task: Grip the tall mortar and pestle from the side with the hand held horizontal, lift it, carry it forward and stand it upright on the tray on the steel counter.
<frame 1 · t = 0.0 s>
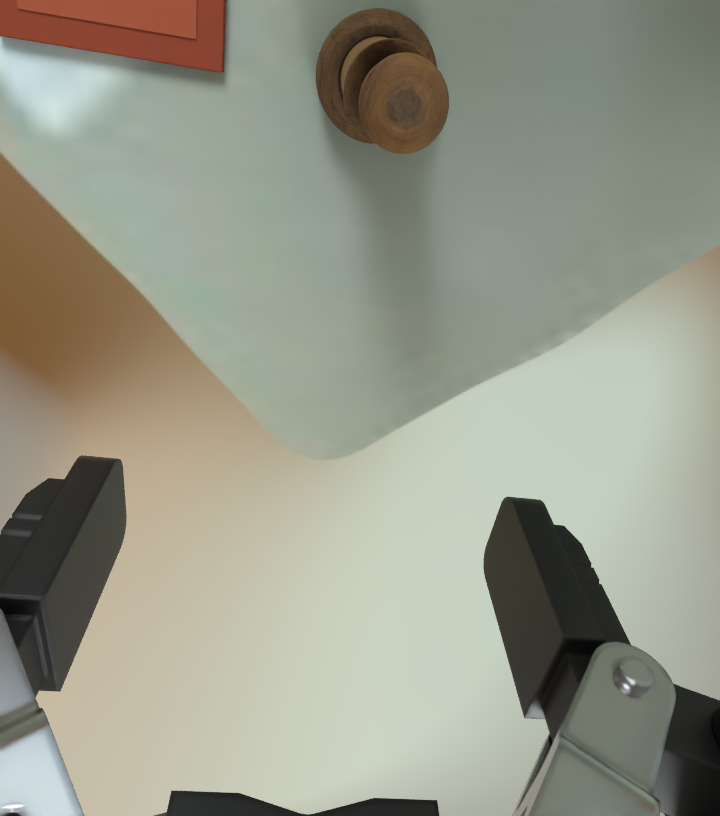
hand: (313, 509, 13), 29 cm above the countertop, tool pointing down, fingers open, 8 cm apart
mortar and pestle: (374, 77, 34), on the countertop
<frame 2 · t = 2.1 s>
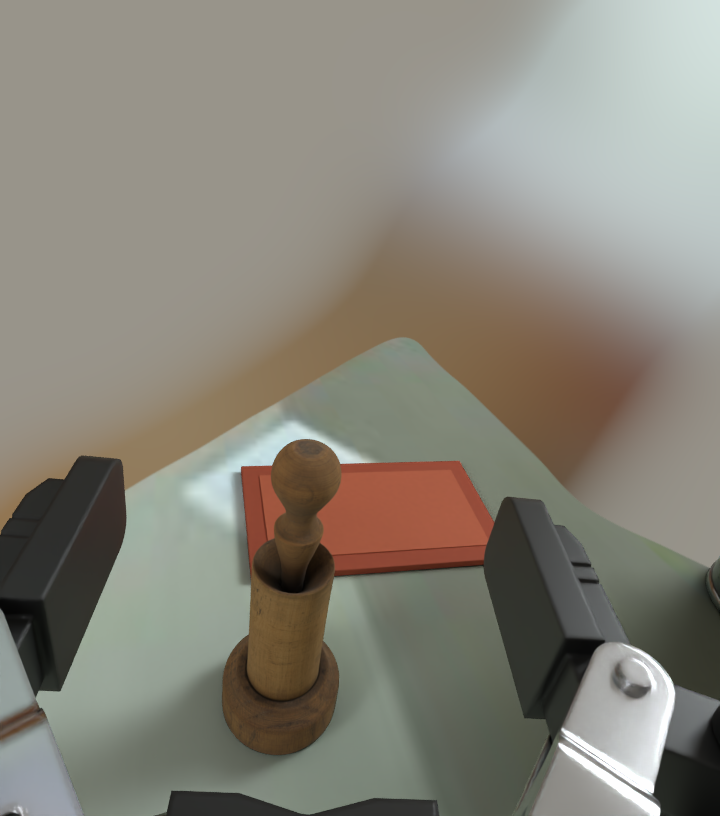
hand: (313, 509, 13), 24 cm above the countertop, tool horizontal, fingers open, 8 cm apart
mortar and pestle: (279, 699, 35), on the countertop
tray: (370, 515, 49), on the countertop
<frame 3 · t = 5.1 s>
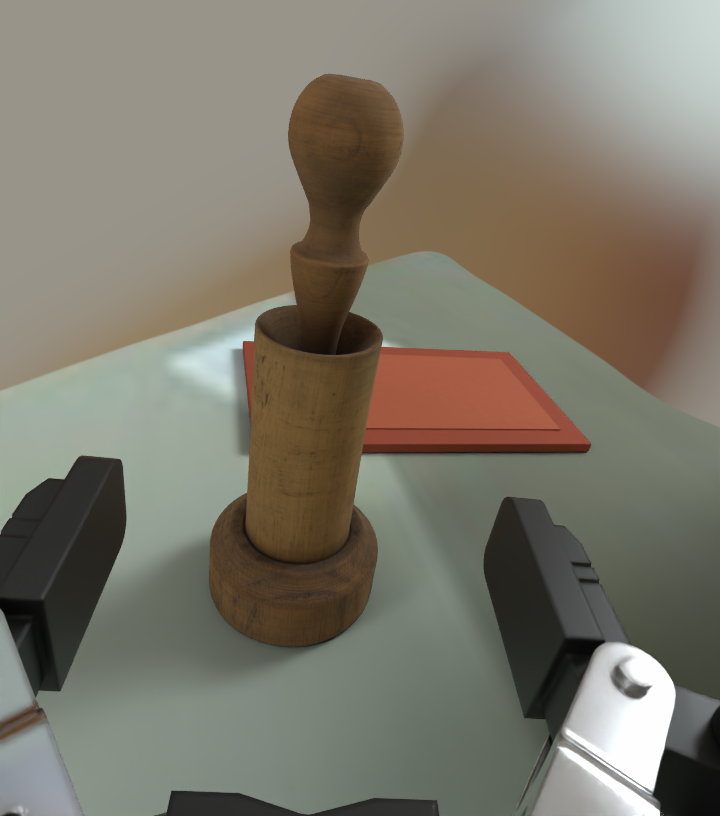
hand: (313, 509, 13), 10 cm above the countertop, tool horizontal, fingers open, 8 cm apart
mortar and pestle: (290, 581, 24), on the countertop
tray: (404, 397, 38), on the countertop
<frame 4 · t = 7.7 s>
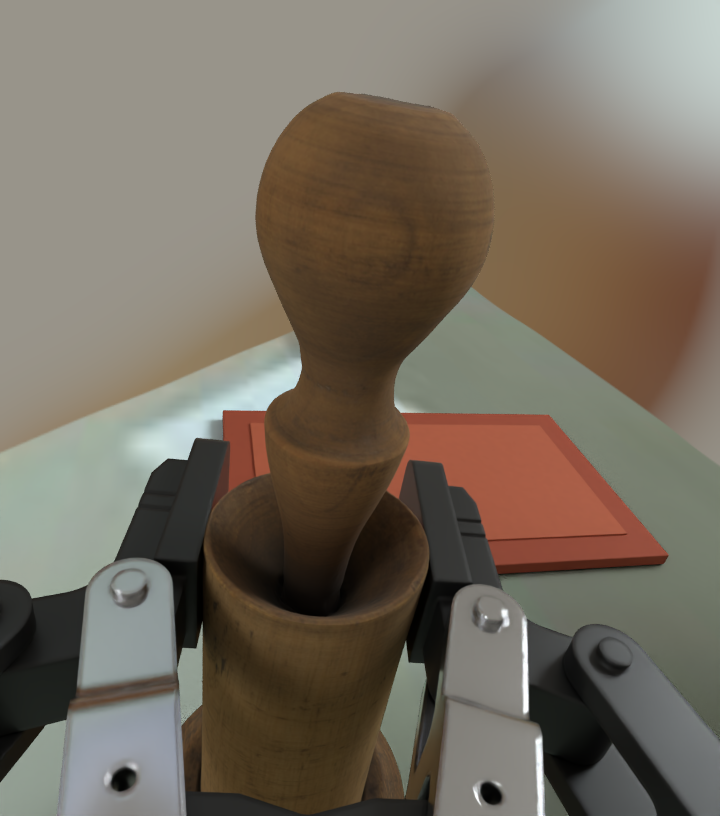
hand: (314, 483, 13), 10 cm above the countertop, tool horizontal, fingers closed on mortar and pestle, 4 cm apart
tray: (426, 486, 30), on the countertop
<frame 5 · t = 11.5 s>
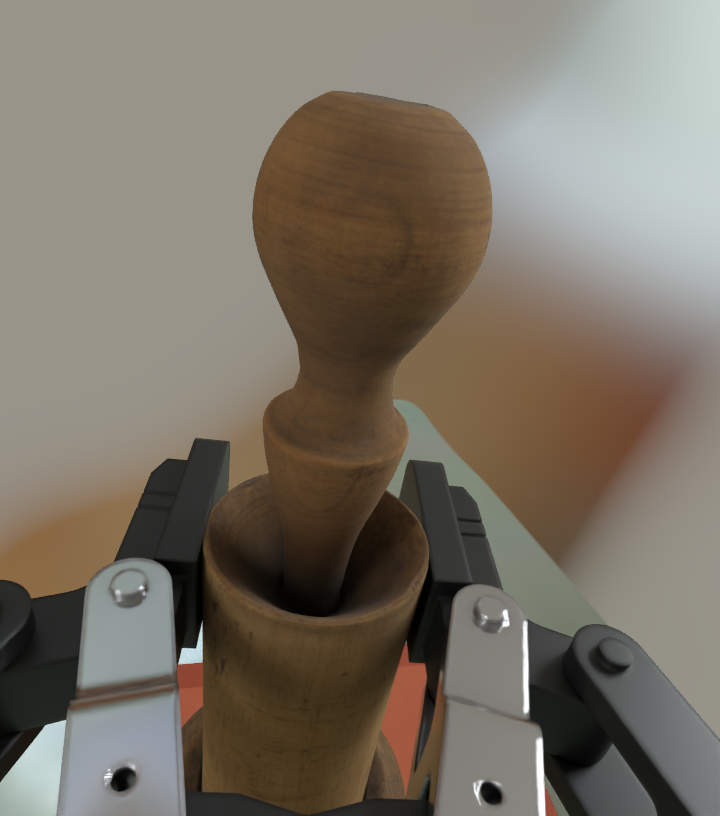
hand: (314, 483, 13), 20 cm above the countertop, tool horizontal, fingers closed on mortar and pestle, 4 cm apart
tray: (323, 777, 27), on the countertop
when the fingers open (11 cm above the countertop, at t = 15.2 s): mortar and pestle stays where it is, resting on tray.
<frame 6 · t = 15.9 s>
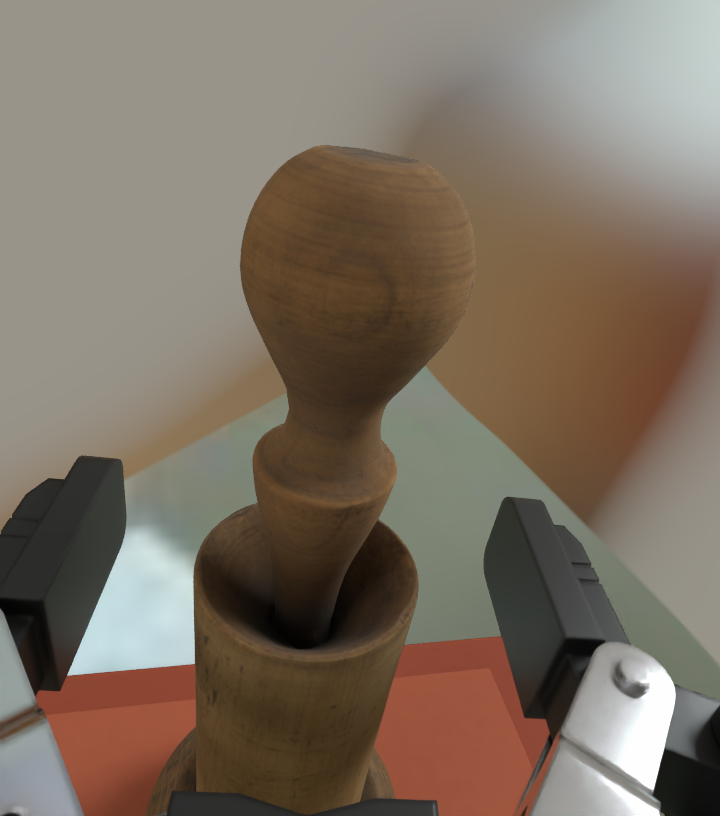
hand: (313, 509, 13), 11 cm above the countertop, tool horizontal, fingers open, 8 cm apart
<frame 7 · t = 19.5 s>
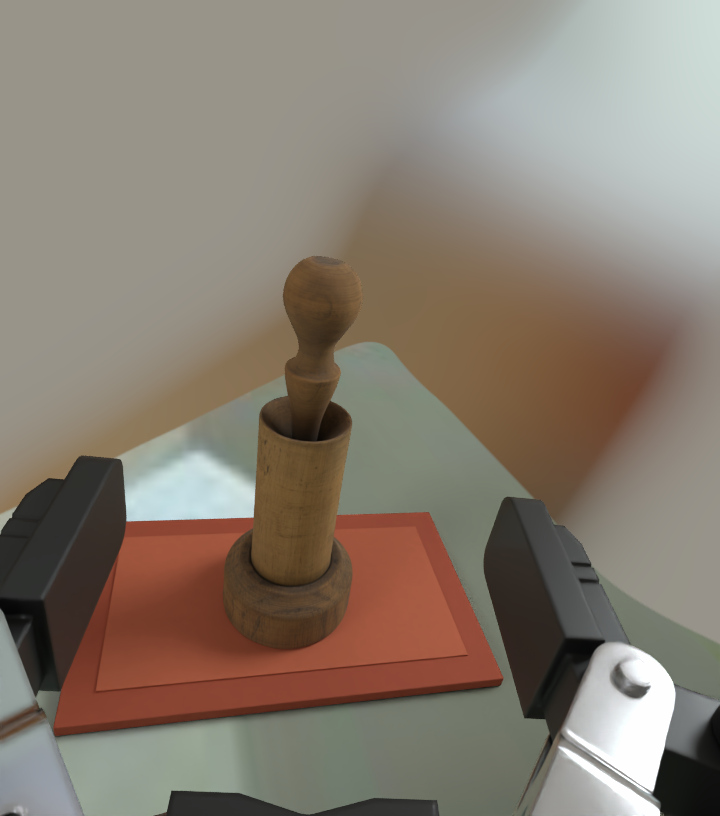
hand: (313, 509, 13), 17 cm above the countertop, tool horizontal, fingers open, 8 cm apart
mortar and pestle: (285, 598, 31), point 1 cm above the countertop, touching tray
tray: (284, 602, 32), on the countertop
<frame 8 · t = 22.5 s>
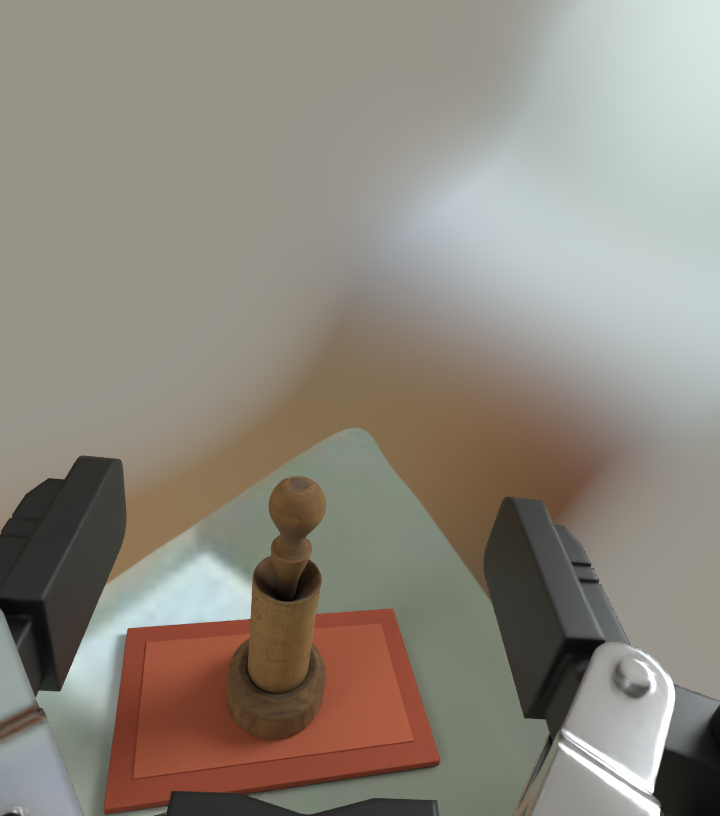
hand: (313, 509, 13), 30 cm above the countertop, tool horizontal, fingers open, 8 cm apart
mortar and pestle: (274, 693, 40), point 1 cm above the countertop, touching tray
tray: (274, 695, 41), on the countertop
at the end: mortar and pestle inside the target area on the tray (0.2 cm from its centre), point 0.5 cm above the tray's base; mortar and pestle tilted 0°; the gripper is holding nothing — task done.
